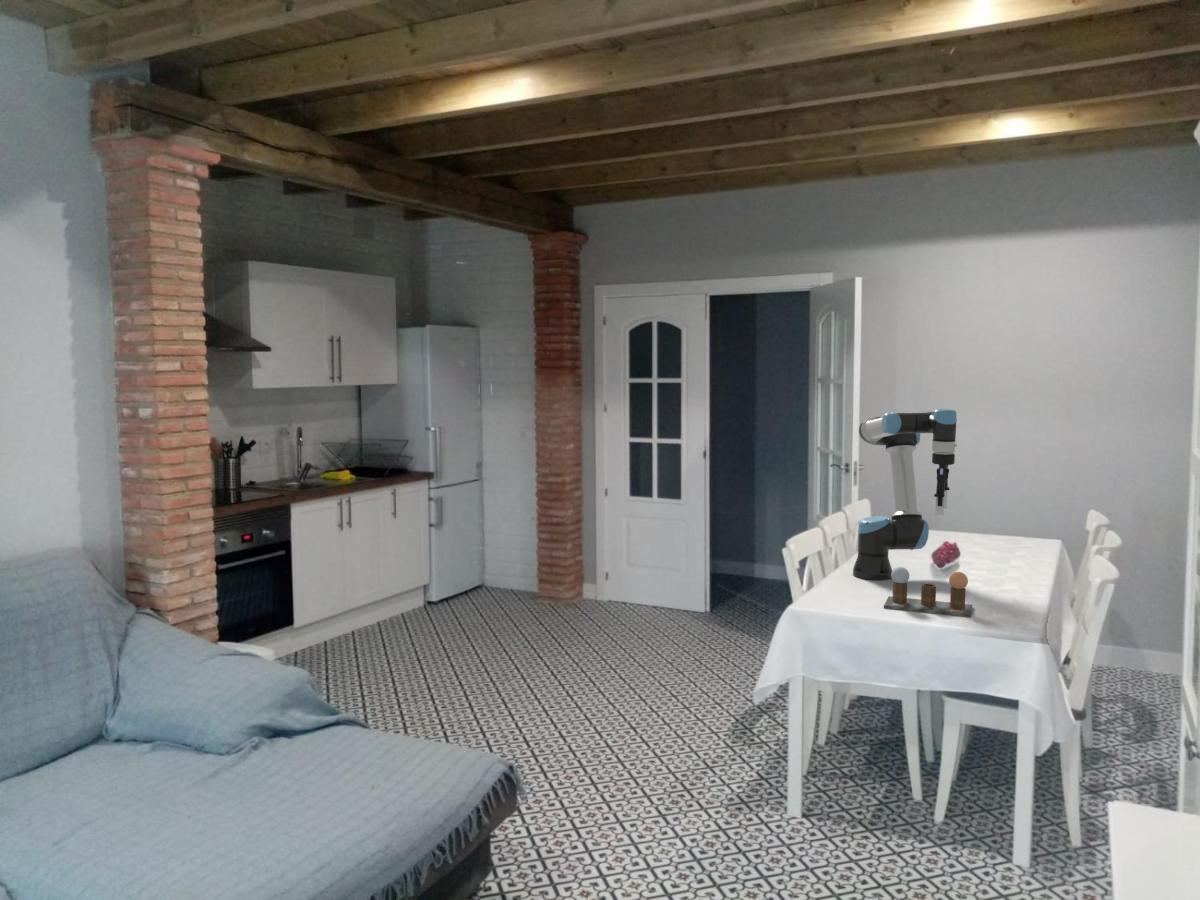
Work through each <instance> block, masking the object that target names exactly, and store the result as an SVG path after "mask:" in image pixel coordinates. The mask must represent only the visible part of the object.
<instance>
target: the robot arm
mask: <svg viewBox="0 0 1200 900" xmlns="http://www.w3.org/2000/svg"><path fill="white" fill-rule="evenodd" d="M957 422H958V419H957V411H956V410H955V409H951V408H950V409H949V408H938V409H935V410H934V411H927V412H887V413H884V414H883V416H874V417H869V418H866V419H864V420H862V421H861V423H860V424H859V427H858V434H859V436H860V438H861V439H862V440H863V441H864V442H865V443H867V444H870V445H872V446H873V445H874V446H884V447H885V451H886V452H887V453H888V454H889V457H890V467H891V477H892V478H891V481H892V492H893V493H892V494H893V502H894V503H893V504H894V505H893V506H894V513H893V514H892V515H891V518H889V517H888V516H885V515H875V516H869V517H863V518H862V519H861V520H860V521H858V529H857V534H858V537H857V540H858V542H857V556H856V559H855V563H854V565H853V569H852V575H853V576H854V577H856V578H860V579H865V580H875V581H878V580H888V579H892V576H891V574H892V571H893V568H892V565H891V562H890V559H889V551H890V550H891V551H892V550H894V551H895V550H896V551H897V550H910V551H912V550H921V549H923V548H924V547H925V546H926V545H927V542H928V539H929V532H930V529H929V527H930V526H929V524H928V523H929V522H928V521H927V520H926V519H923V515H922V513H920V512H919V511H918V501H917V492H916V479H915V470H914V469H915V468H914V458H913V456H914V455H913V452H915V450H916V446H917V445H919V443H920V442H921V434H932V448H931V449H932V452H933V453H932V454H931V457H932V458H931V462H932V464H933V465H939V466H938V468H937V469H936V493H934V495H933V496H934V497H935V514H934V515H936V516H944V515H945V510H946V509H947V507H948V504H947V503H948V491H950V487H949V485H948V484H949V483H948V479H949V474H950V468H949V466H952V465H954V464H955V460H956V456H955V452H956V447H958V444H957V443H956V439H957V438H956V434H957Z"/></svg>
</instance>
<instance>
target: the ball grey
mask: <svg viewBox="0 0 1200 900" xmlns="http://www.w3.org/2000/svg"><path fill="white" fill-rule="evenodd" d="M891 576H892V578H891V579H892V582H896V583H898V584H904V583H908V581H909V580H910V572H909V571H908V569H907V568H905V567H903V566H896V567H895V568H894V569H892V574H891Z"/></svg>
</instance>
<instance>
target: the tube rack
mask: <svg viewBox="0 0 1200 900" xmlns="http://www.w3.org/2000/svg"><path fill="white" fill-rule="evenodd" d="M966 589H967V588H966V587H965V588H963V589H954V588H953V587H952V586H951V587H950V597H949V598H950V599H949V601H941V600H940V601H939V600H937V599H936V598H937V585H935V584H933V583H923V584H921V589H920V592H921V593H920V594H921V595H920V599H919V598H910V597H908V582H906V583H904V584H898V583H896V582H894V581H892V596H890V595H889V596H888V597H887V598H886V601H885V602H884V604H883V609H890V610H899V611H907V612H918V613H927V614H937V615H944V616H945V615H946V616H947V615H948V616H955V617H964V618H972V613H973V612H972V611H973V604H970V603H966V592H967V591H966Z"/></svg>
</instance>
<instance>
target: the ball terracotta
mask: <svg viewBox="0 0 1200 900" xmlns="http://www.w3.org/2000/svg"><path fill="white" fill-rule="evenodd" d="M948 582H949V585H950V586H951V587H953V588H954V589H963V588H965V589H966V588H967V585H968V584H969V580H968V576H967V575H966V574H965V573H963V572H961V571H955V572H953V573H952V574H950V576H949V578H948Z"/></svg>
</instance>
